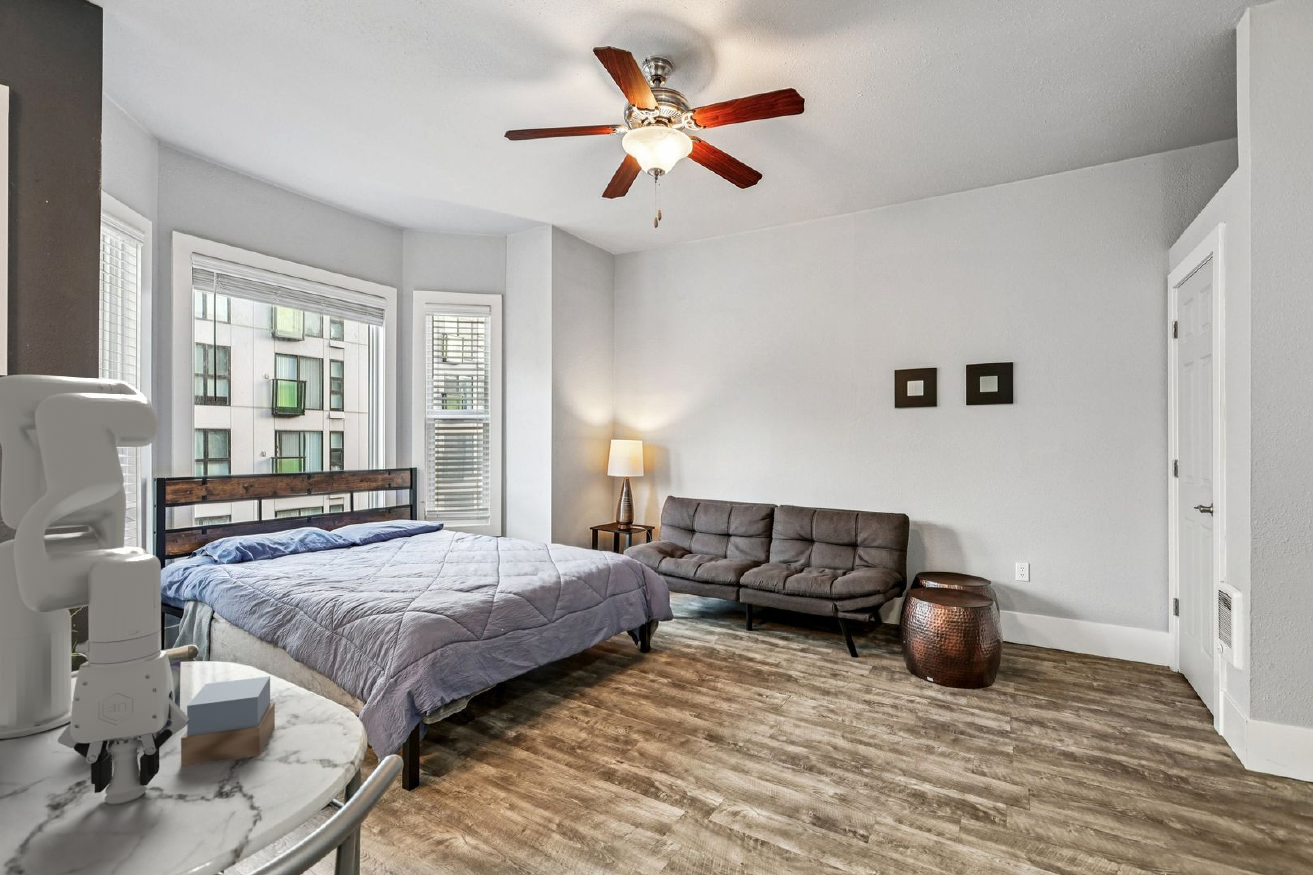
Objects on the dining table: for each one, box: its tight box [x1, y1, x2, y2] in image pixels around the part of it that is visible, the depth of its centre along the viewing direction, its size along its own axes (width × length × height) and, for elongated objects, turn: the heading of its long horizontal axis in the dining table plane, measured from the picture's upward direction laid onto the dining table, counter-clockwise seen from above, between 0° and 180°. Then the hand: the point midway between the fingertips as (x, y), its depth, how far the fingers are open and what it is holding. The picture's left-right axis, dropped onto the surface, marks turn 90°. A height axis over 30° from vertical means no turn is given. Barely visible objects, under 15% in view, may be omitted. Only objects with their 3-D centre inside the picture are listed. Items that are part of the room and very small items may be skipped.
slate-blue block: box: [186, 676, 271, 736], centre depth 100 cm, size 9×9×4 cm
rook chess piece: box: [104, 737, 148, 806], centre depth 86 cm, size 4×4×8 cm
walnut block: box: [180, 702, 276, 768], centre depth 100 cm, size 10×10×4 cm
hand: (126, 782), depth 86 cm, fingers closed on rook chess piece, 4 cm apart
